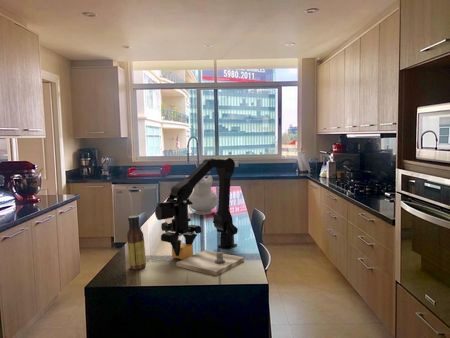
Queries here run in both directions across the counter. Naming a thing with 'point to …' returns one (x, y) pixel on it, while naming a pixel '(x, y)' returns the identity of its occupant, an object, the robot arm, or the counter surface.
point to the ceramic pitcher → (203, 197)
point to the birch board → (210, 262)
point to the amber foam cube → (184, 251)
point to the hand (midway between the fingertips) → (182, 253)
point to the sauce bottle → (135, 244)
